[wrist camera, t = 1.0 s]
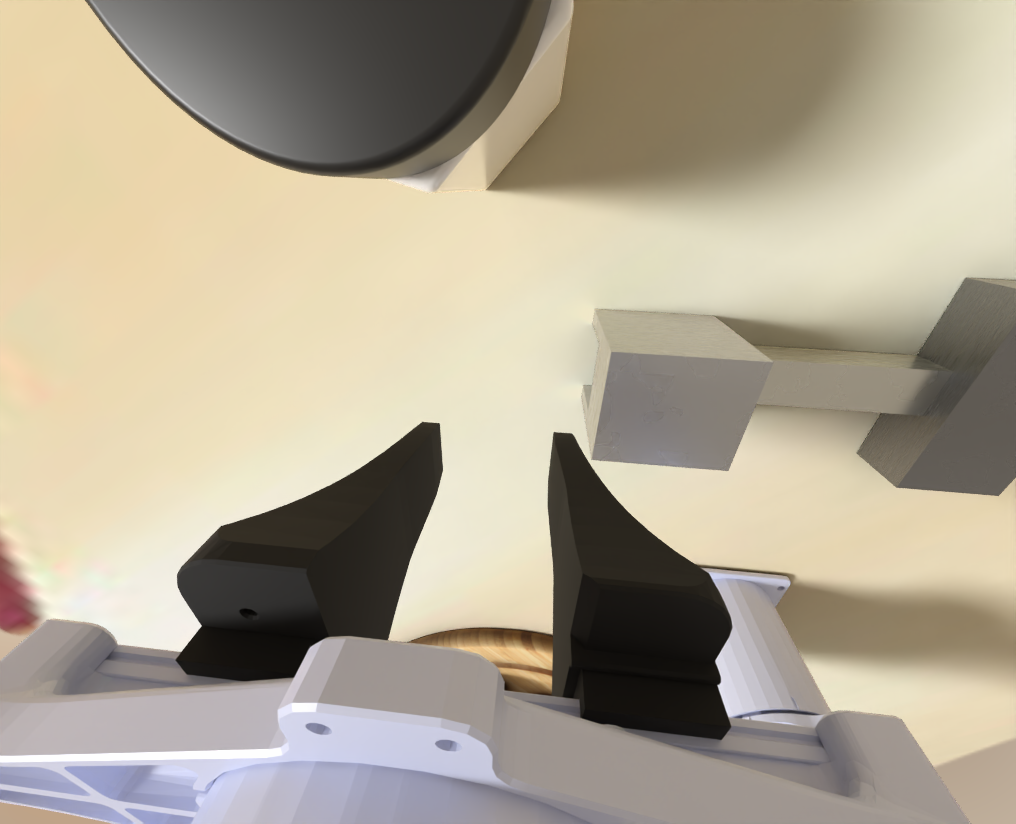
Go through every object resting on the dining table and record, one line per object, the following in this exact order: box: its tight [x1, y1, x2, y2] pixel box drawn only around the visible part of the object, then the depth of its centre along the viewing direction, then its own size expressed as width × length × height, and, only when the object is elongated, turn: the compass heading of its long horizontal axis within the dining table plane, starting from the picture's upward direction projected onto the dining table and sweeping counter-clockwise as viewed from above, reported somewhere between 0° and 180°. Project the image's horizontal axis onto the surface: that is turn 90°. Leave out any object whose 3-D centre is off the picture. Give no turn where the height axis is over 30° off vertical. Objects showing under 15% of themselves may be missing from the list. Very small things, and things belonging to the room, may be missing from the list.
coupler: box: [752, 278, 1016, 496], centre depth 19 cm, size 10×14×3 cm
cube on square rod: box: [581, 309, 774, 471], centre depth 18 cm, size 5×6×6 cm
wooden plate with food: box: [408, 628, 553, 696], centre depth 40 cm, size 32×32×8 cm
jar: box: [85, 0, 574, 193], centre depth 10 cm, size 9×8×12 cm
